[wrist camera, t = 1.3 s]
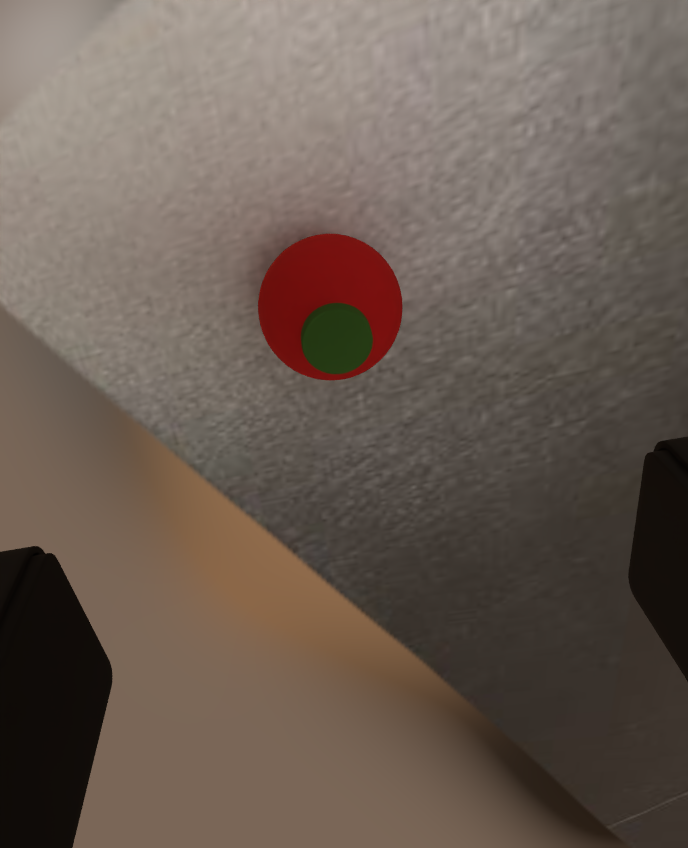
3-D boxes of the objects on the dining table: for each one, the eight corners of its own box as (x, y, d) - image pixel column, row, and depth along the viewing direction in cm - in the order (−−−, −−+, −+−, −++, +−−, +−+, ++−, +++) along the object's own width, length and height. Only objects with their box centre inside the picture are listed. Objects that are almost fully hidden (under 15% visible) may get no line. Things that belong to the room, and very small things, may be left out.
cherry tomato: (245, 228, 19) (240, 281, 15) (382, 205, 19) (410, 252, 15) (273, 352, 21) (274, 423, 17) (396, 331, 21) (422, 398, 17)
